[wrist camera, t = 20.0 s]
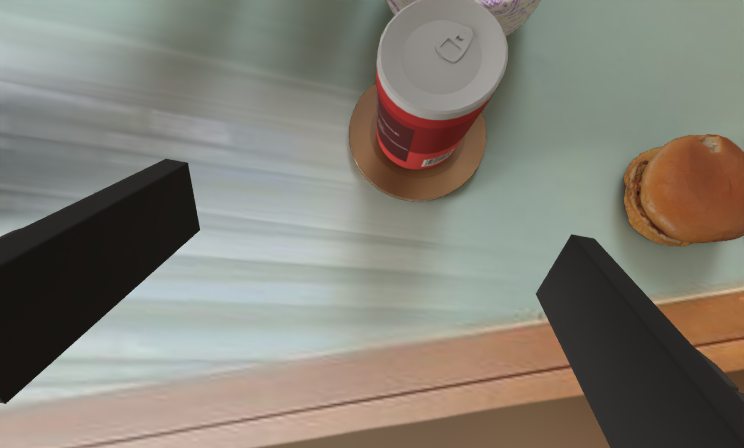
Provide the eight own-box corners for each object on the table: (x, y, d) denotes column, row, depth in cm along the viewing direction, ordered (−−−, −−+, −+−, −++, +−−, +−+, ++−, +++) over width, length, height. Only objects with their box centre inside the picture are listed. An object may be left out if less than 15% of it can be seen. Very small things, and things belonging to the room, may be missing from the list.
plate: (336, 186, 29) (335, 183, 28) (365, 63, 31) (365, 57, 30) (471, 214, 29) (474, 212, 28) (493, 87, 30) (497, 82, 29)
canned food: (472, 113, 29) (530, 22, 18) (436, 187, 28) (474, 138, 17) (400, 80, 29) (413, -28, 19) (362, 151, 29) (353, 81, 18)
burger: (644, 261, 28) (697, 260, 23) (598, 168, 29) (640, 150, 24) (741, 224, 28) (813, 216, 23) (692, 134, 29) (751, 109, 25)
